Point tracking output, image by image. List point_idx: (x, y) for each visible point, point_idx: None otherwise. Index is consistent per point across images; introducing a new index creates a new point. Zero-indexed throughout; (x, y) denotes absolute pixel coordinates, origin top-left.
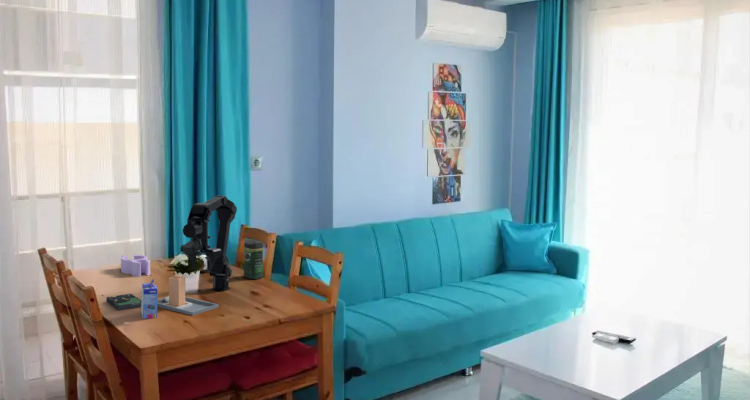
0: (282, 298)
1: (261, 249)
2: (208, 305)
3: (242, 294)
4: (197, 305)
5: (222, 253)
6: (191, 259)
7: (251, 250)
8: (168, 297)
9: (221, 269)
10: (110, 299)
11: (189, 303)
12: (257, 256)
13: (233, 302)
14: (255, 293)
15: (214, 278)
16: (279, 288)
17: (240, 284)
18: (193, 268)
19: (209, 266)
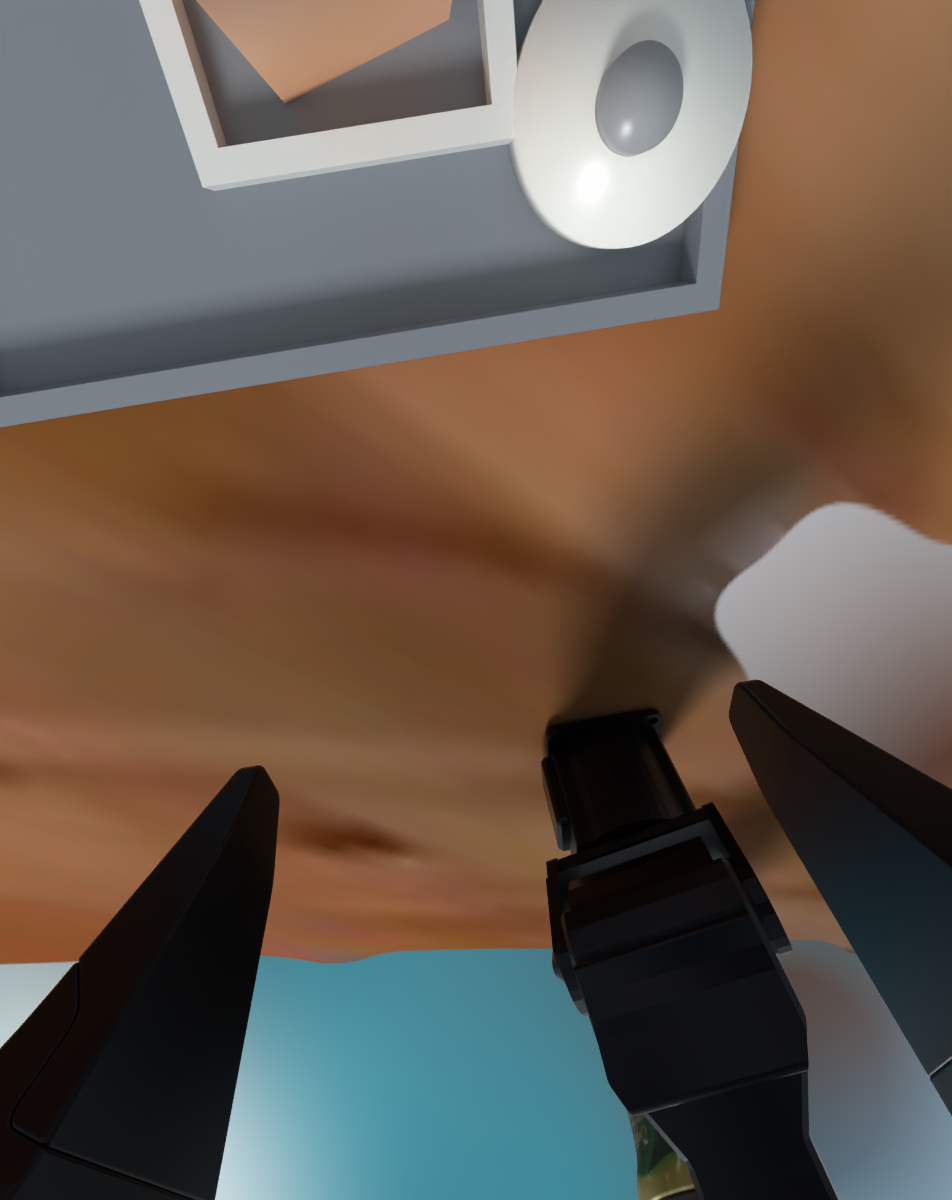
0: (116, 886)
1: (640, 1197)
2: (112, 374)
3: (370, 785)
4: (185, 259)
5: (696, 1176)
6: (944, 898)
7: (685, 1173)
8: (695, 44)
9: (579, 923)
10: None
11: (229, 147)
12: (638, 1116)
13: (189, 649)
14: (335, 839)
15: (658, 800)
16: (345, 940)
17: None
18: (732, 705)
19: (141, 915)
